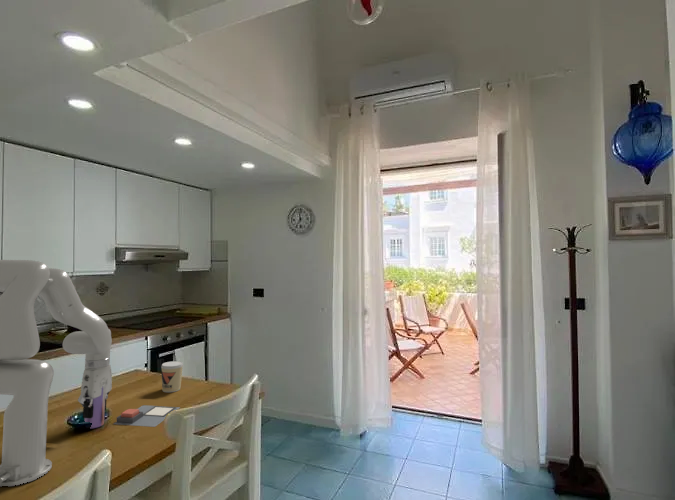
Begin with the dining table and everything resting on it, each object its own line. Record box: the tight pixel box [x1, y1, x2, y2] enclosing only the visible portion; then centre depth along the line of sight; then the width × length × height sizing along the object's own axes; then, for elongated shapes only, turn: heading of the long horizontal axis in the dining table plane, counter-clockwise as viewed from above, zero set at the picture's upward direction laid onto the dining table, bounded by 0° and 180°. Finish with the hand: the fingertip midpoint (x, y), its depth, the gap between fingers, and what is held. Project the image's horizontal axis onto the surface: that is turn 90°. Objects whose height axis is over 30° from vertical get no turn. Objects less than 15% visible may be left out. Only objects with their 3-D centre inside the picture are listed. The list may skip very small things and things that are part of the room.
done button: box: [120, 408, 139, 418], centre depth 140 cm, size 4×4×2 cm
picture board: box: [113, 405, 181, 428], centre depth 144 cm, size 18×16×3 cm
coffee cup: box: [160, 360, 184, 393], centre depth 176 cm, size 9×9×12 cm
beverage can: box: [83, 384, 106, 429], centre depth 135 cm, size 6×6×15 cm
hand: (94, 413), depth 135 cm, fingers closed on beverage can, 6 cm apart
